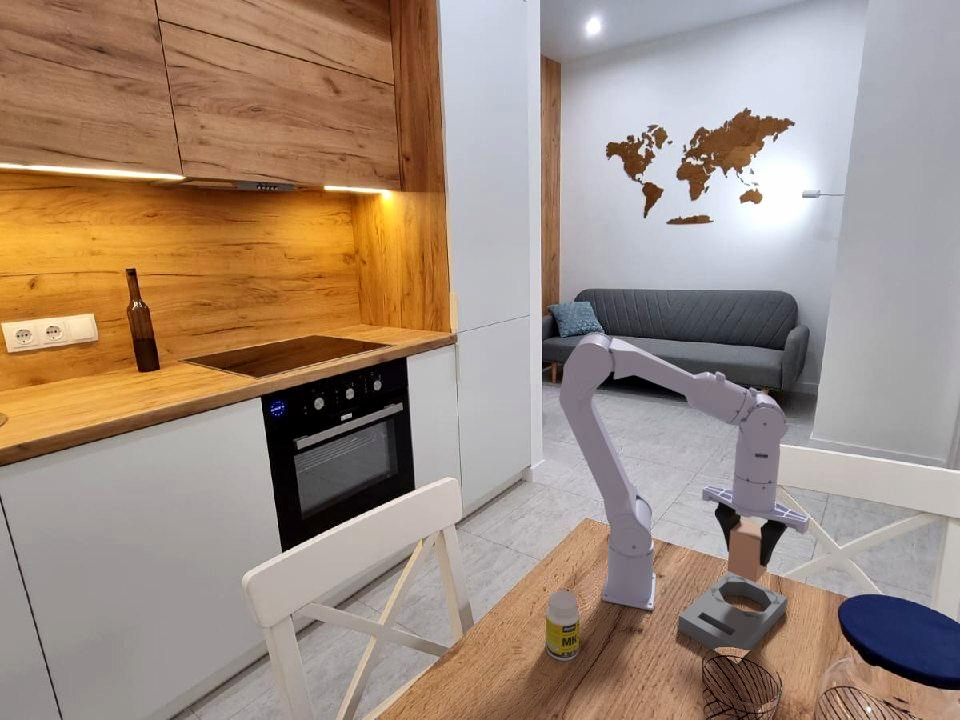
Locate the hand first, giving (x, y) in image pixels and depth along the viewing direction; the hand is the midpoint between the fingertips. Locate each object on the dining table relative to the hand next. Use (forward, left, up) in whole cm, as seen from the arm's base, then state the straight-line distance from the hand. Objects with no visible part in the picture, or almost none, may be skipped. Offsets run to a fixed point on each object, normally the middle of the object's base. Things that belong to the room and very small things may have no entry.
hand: (748, 556), depth 80 cm
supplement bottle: (+17, -25, -10) cm, 32 cm away
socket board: (+3, -2, -10) cm, 10 cm away
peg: (0, 0, -2) cm, 2 cm away
